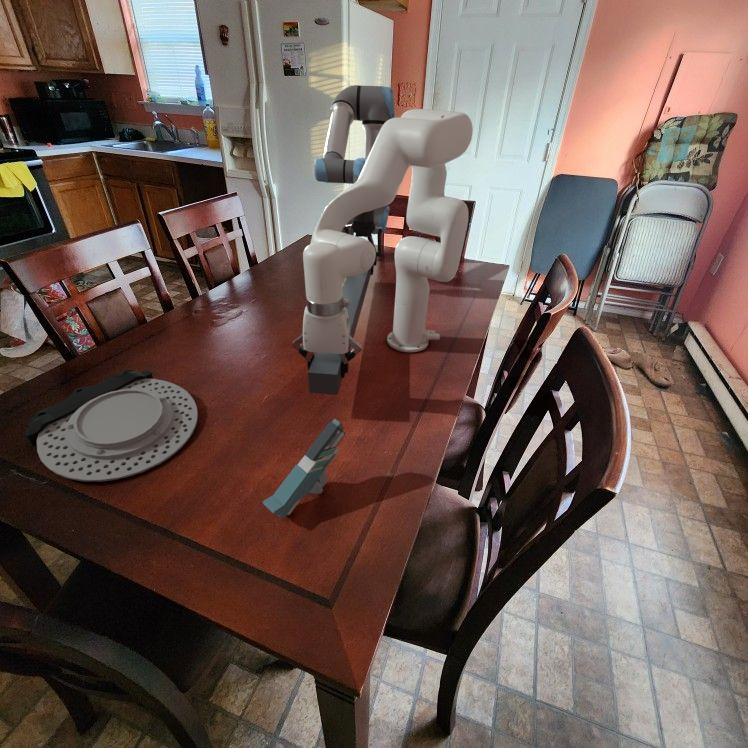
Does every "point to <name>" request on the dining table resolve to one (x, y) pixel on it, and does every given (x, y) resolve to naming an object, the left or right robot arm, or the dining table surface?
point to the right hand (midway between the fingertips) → (328, 372)
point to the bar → (328, 366)
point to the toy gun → (307, 472)
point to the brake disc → (113, 427)
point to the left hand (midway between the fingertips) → (362, 272)
